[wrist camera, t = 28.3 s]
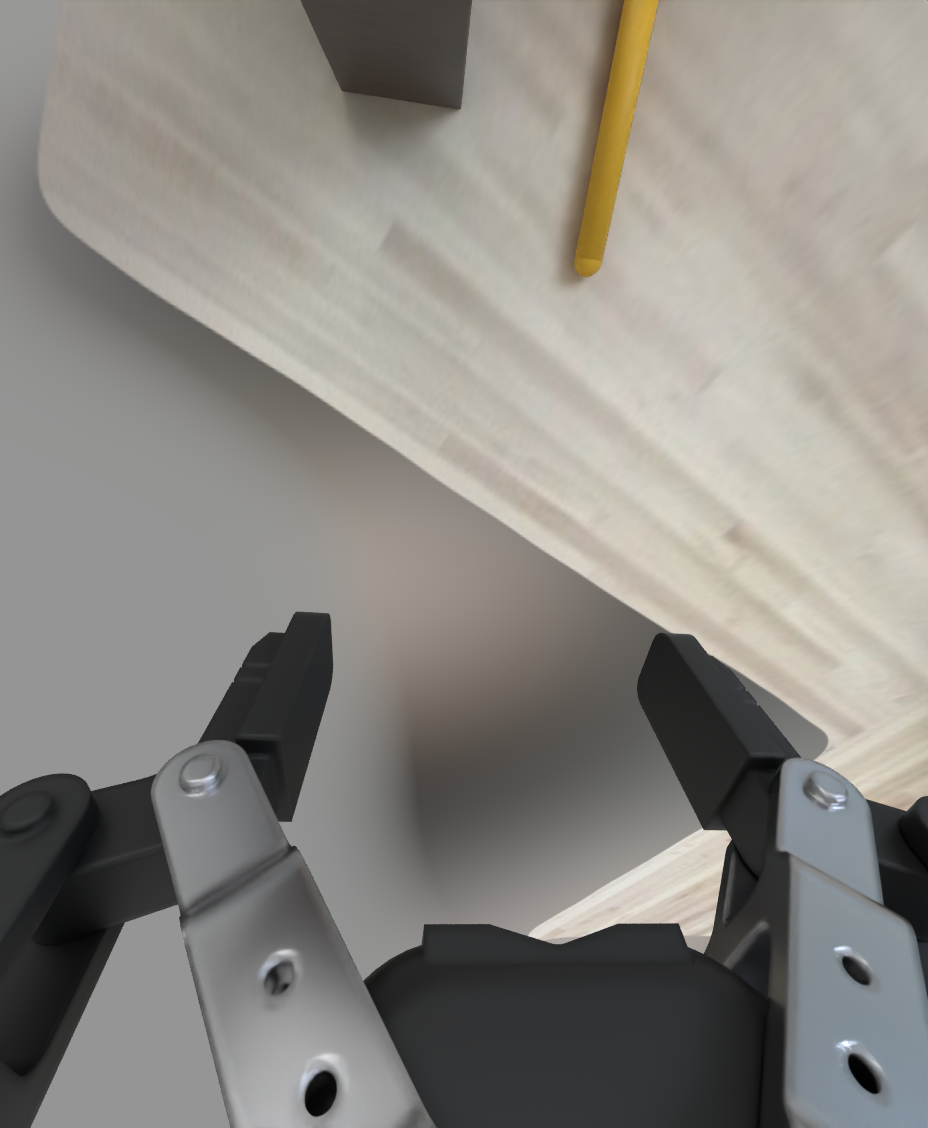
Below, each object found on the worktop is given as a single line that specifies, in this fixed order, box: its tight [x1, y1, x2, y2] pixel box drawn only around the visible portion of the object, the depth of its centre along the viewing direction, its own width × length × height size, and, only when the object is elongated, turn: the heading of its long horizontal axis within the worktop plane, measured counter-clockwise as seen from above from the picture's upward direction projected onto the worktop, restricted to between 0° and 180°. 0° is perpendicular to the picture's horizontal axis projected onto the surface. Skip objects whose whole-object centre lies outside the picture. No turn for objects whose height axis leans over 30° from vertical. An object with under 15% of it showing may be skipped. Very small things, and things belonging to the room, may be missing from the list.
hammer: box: [574, 0, 659, 277], centre depth 25 cm, size 23×4×2 cm, turn 174°
